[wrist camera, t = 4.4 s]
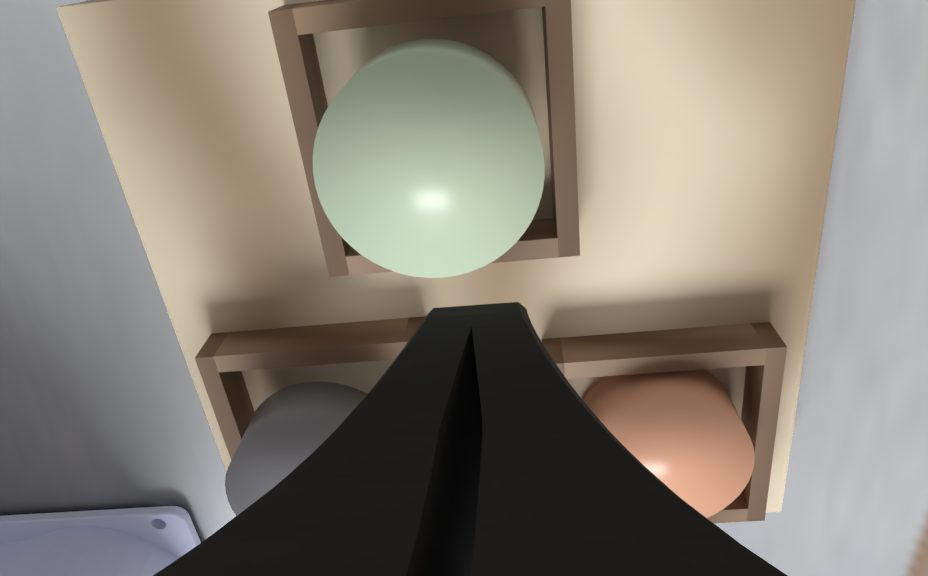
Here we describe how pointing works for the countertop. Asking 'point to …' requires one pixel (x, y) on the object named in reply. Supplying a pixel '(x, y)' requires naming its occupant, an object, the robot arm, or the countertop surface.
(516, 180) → the sage button
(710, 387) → the terracotta button
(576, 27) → the button panel
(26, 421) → the countertop surface
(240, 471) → the charcoal button
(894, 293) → the countertop surface
